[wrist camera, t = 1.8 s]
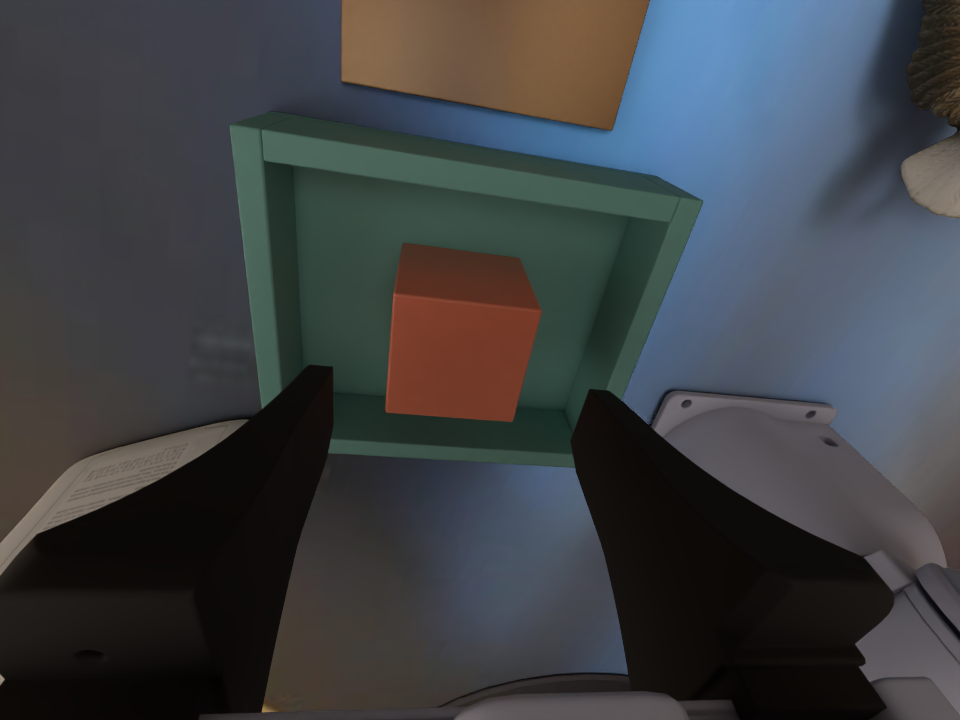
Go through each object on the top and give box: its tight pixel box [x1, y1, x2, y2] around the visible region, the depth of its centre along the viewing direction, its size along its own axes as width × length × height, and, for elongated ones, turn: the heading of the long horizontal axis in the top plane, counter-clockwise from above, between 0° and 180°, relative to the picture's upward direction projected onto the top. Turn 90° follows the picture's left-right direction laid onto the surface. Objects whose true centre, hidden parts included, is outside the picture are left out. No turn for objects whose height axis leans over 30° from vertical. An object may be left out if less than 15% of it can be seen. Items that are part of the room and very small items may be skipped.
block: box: [385, 243, 542, 422], centre depth 17 cm, size 4×4×4 cm
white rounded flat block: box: [0, 419, 248, 685], centre depth 18 cm, size 10×4×12 cm, turn 105°
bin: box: [230, 111, 703, 468], centre depth 18 cm, size 14×12×4 cm
